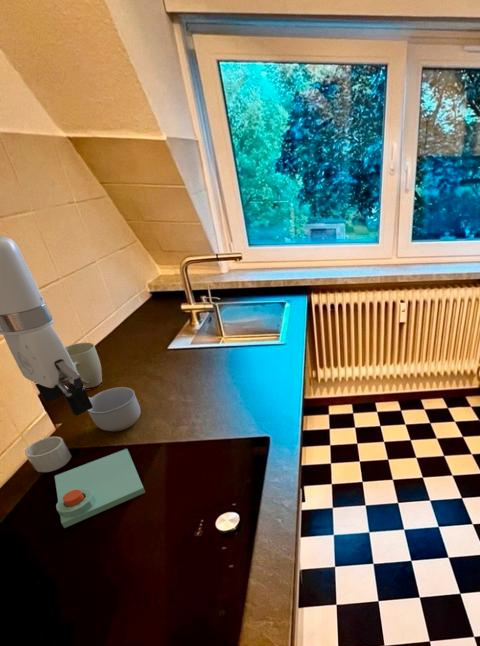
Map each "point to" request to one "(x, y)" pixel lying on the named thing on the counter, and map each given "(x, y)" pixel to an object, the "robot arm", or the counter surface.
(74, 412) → the robot arm
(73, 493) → the tare button
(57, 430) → the counter surface
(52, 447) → the bowl
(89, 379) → the mug
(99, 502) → the scale
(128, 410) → the teacup
